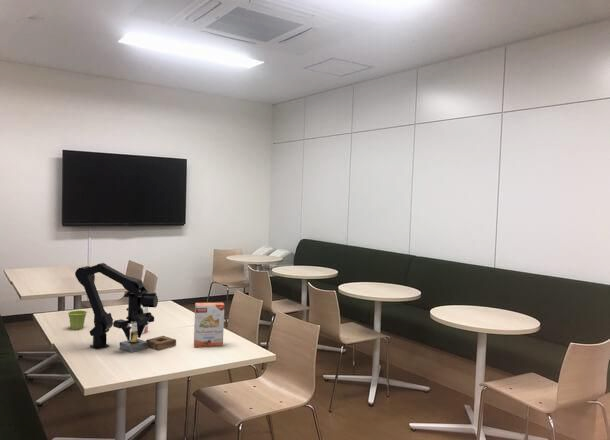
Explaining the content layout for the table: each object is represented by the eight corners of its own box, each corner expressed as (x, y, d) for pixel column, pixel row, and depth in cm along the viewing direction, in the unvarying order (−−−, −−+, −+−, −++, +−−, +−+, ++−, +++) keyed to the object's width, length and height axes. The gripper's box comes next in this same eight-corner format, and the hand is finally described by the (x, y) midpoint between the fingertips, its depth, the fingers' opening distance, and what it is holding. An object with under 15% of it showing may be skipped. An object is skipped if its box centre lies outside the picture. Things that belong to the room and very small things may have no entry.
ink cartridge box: (139, 330, 253) (140, 303, 253) (148, 331, 252) (148, 304, 252) (130, 334, 245) (131, 306, 244) (139, 335, 244) (140, 307, 243)
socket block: (119, 348, 222) (119, 342, 222) (136, 344, 229) (136, 338, 229) (130, 352, 217) (131, 346, 217) (147, 348, 224) (147, 342, 224)
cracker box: (194, 348, 227) (195, 305, 226) (193, 344, 233) (194, 302, 232) (223, 346, 231) (224, 304, 230) (222, 343, 237) (223, 301, 236)
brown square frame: (145, 346, 227) (146, 339, 227) (163, 341, 235) (163, 335, 235) (158, 350, 221) (158, 344, 221) (175, 345, 229) (176, 339, 229)
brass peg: (128, 348, 223) (129, 331, 222) (134, 347, 225) (134, 330, 225) (132, 349, 221) (133, 333, 221) (138, 348, 223) (138, 331, 223)
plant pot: (90, 326, 257) (90, 311, 257) (80, 331, 248) (80, 315, 247) (74, 325, 258) (74, 310, 258) (63, 330, 249) (63, 314, 248)
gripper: (127, 312, 210) (126, 347, 210) (161, 306, 225) (161, 338, 226) (112, 308, 216) (112, 342, 217) (147, 302, 232) (146, 333, 232)
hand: (133, 339), depth 223 cm, fingers open, 5 cm apart
